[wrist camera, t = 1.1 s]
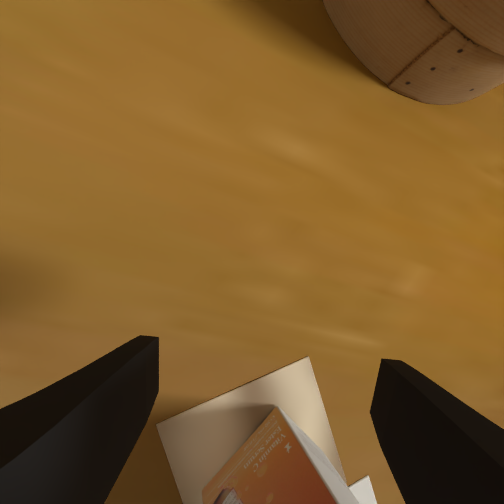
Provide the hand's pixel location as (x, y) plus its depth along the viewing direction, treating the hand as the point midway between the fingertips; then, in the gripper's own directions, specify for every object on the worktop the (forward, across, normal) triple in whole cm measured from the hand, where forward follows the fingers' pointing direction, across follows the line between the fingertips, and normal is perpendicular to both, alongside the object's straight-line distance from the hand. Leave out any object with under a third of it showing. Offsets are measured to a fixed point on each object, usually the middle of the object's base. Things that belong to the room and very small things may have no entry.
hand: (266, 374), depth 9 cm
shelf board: (+9, -1, +14) cm, 17 cm away
